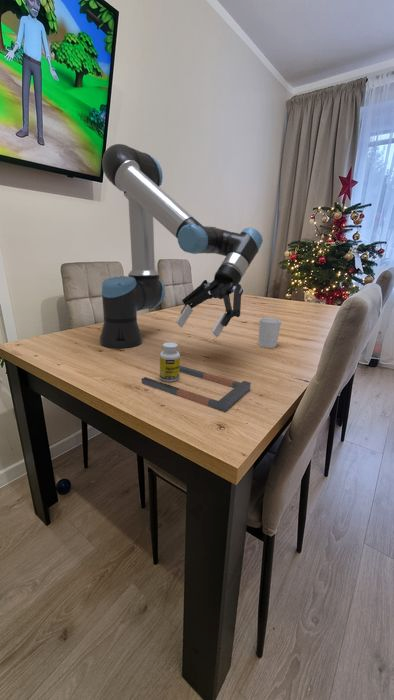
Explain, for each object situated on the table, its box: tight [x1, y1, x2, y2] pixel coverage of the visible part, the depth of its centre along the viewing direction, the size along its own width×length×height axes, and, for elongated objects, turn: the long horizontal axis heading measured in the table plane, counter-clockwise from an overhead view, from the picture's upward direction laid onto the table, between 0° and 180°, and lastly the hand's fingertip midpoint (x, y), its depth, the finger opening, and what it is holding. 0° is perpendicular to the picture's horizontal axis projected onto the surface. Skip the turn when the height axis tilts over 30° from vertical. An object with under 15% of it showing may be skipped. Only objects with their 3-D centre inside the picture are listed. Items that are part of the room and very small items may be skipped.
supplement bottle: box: [159, 342, 181, 383], centre depth 83 cm, size 5×5×10 cm
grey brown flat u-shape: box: [141, 365, 252, 412], centre depth 80 cm, size 25×14×2 cm, turn 57°
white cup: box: [258, 317, 282, 349], centre depth 115 cm, size 8×8×10 cm
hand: (195, 329), depth 86 cm, fingers open, 13 cm apart
